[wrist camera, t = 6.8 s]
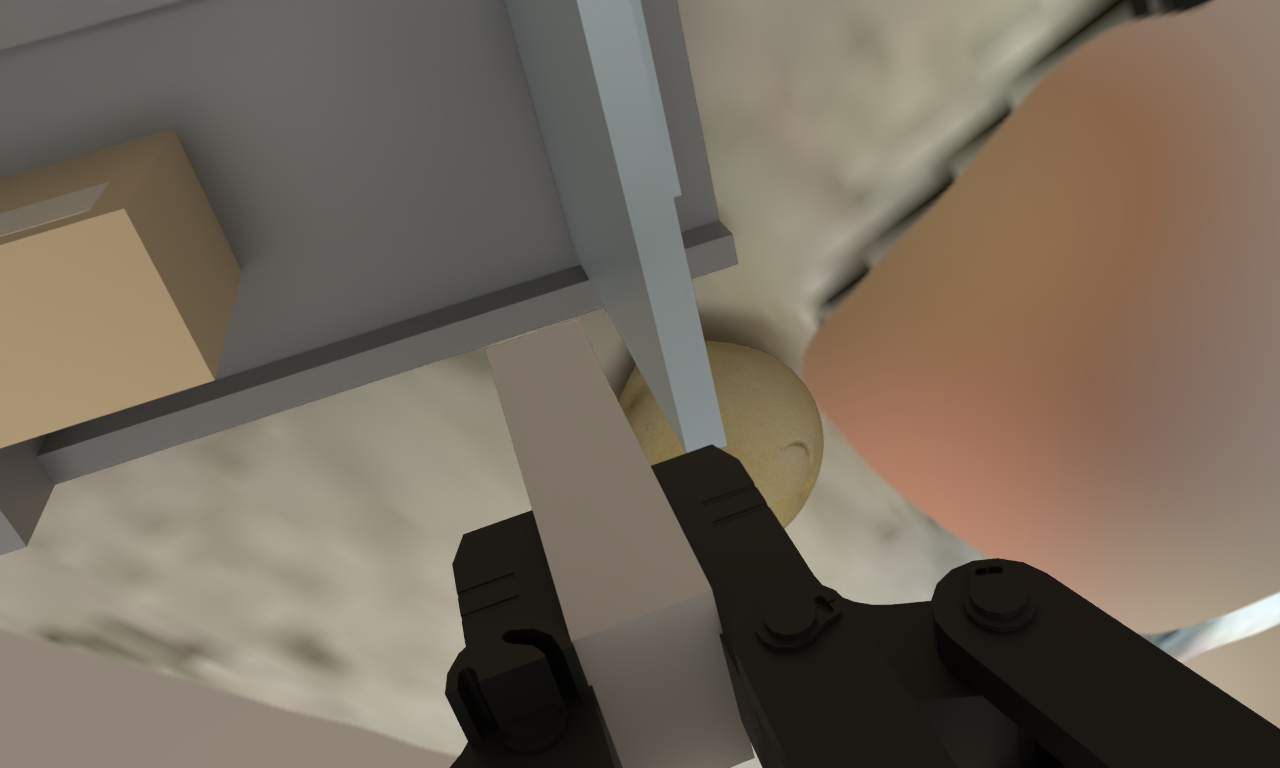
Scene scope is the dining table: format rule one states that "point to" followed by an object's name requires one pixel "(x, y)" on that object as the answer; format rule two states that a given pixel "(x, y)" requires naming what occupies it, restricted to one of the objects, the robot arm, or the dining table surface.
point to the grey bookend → (621, 191)
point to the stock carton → (108, 285)
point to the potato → (746, 424)
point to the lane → (324, 190)
